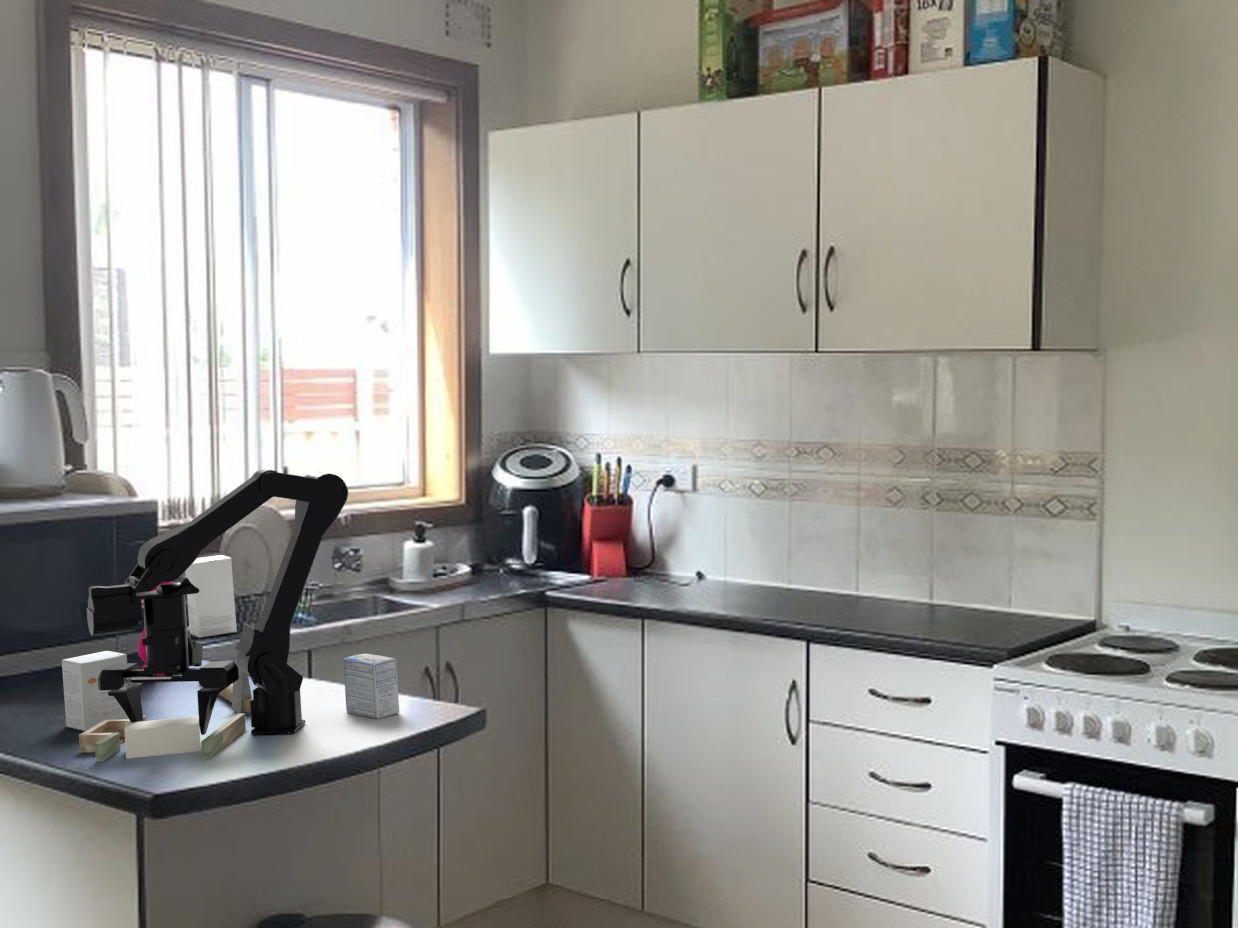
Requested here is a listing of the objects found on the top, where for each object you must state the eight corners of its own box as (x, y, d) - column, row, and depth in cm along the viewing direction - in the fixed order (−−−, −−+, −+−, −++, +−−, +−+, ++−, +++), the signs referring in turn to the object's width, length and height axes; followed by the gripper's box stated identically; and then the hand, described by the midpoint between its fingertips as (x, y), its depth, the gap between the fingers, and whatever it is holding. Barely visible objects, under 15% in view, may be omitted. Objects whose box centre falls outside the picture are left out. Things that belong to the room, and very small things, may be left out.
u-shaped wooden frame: (245, 729, 221) (244, 713, 221) (208, 759, 205) (207, 741, 205) (111, 732, 222) (110, 716, 222) (64, 761, 206) (63, 744, 206)
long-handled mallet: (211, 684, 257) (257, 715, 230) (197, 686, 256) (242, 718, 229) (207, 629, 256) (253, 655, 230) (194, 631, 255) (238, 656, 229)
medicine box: (400, 713, 228) (397, 657, 227) (377, 719, 224) (374, 663, 224) (368, 707, 233) (365, 652, 232) (345, 712, 230) (342, 657, 229)
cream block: (200, 742, 215) (198, 715, 214) (200, 751, 210) (199, 723, 210) (127, 750, 212) (125, 722, 212) (126, 759, 207) (124, 730, 207)
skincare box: (227, 628, 309) (223, 554, 308) (238, 633, 303) (233, 557, 302) (187, 634, 304) (183, 558, 303) (197, 638, 299) (192, 561, 298)
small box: (111, 716, 233) (107, 649, 233) (132, 720, 230) (127, 653, 229) (64, 726, 227) (60, 658, 226) (84, 731, 224) (80, 662, 223)
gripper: (248, 615, 219) (253, 719, 221) (125, 618, 221) (131, 721, 222) (222, 629, 208) (228, 739, 209) (93, 632, 210) (100, 741, 211)
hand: (172, 734), depth 213 cm, fingers open, 9 cm apart
